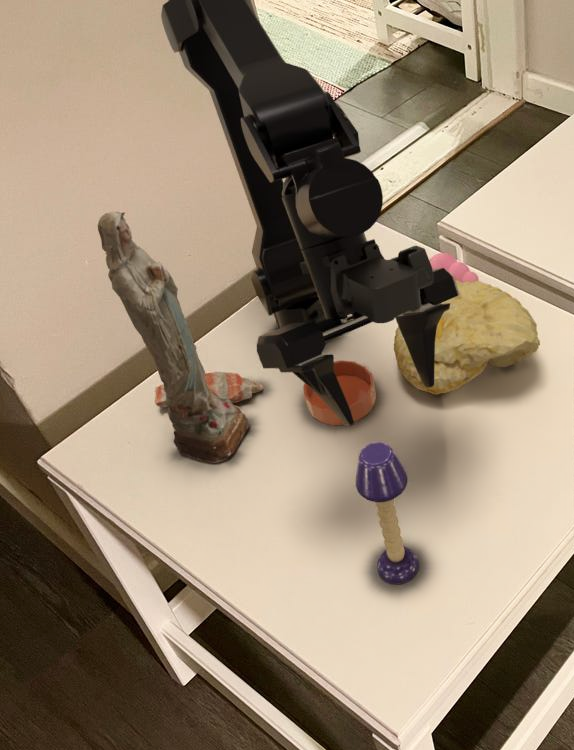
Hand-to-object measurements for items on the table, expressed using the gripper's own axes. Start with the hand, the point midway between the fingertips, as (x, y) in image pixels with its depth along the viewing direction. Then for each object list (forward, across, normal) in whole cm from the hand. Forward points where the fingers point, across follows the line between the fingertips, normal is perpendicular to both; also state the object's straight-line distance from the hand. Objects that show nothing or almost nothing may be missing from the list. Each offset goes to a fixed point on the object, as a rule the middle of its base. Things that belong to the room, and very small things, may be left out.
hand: (391, 405), depth 84 cm
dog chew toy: (-8, +27, +28) cm, 39 cm away
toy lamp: (+16, -3, +4) cm, 17 cm away
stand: (+2, +6, +22) cm, 23 cm away
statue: (+1, -8, +28) cm, 29 cm away
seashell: (+4, +20, +16) cm, 26 cm away
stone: (-2, -7, +30) cm, 31 cm away
